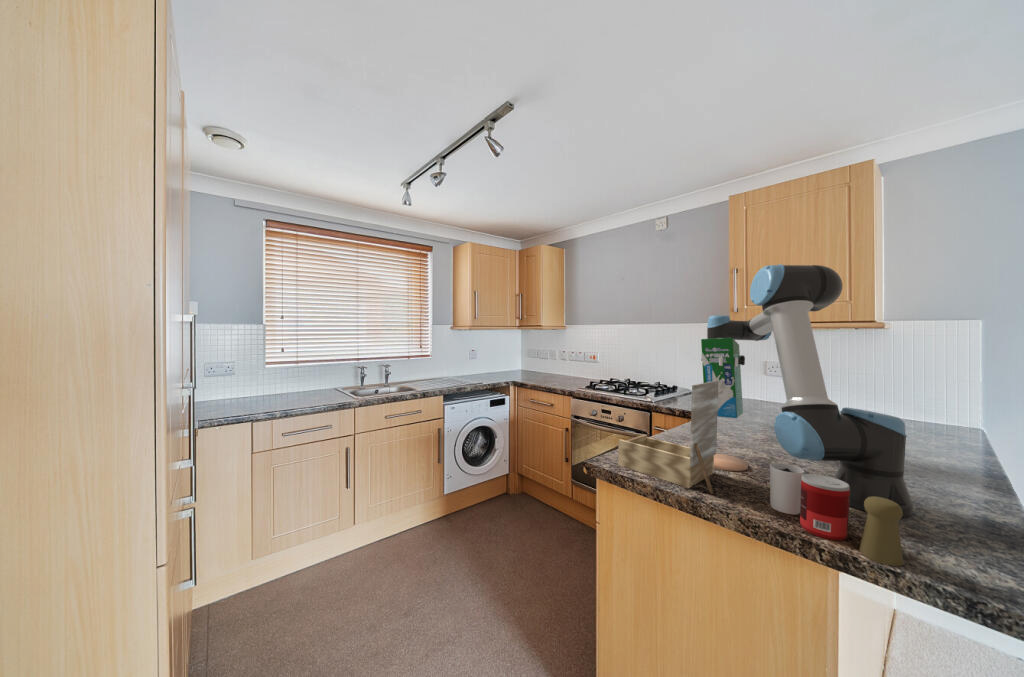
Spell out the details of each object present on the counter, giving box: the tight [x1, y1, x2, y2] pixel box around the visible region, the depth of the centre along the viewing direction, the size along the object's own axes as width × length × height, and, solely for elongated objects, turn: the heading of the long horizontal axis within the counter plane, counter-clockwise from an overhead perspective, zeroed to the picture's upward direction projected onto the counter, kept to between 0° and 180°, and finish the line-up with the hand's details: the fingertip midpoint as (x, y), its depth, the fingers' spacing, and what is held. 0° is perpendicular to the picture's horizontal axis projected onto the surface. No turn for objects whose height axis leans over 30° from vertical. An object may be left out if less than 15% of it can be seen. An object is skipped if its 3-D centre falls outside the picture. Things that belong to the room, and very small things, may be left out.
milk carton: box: [700, 338, 744, 419], centre depth 120 cm, size 9×9×25 cm
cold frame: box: [617, 381, 719, 495], centre depth 111 cm, size 28×17×28 cm, turn 41°
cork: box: [858, 496, 905, 567], centre depth 70 cm, size 6×6×11 cm
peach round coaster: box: [714, 452, 749, 472], centre depth 120 cm, size 13×13×1 cm
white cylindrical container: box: [769, 462, 805, 515], centre depth 89 cm, size 7×7×10 cm
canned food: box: [799, 473, 850, 541], centre depth 79 cm, size 8×8×11 cm
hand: (728, 361), depth 114 cm, fingers open, 3 cm apart
